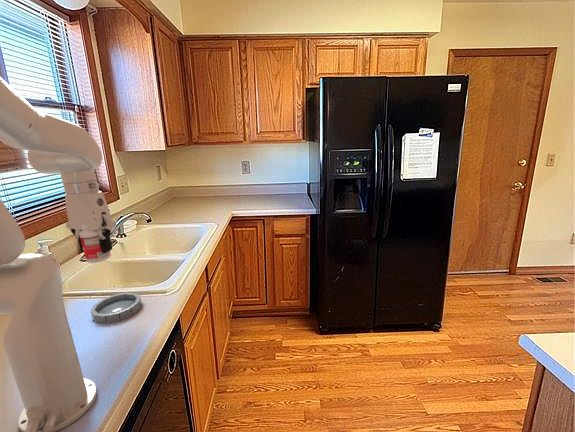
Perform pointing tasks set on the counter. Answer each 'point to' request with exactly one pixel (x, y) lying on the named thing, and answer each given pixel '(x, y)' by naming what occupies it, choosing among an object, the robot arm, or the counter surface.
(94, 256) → the pill bottle
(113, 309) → the round grey tray
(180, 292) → the counter surface
